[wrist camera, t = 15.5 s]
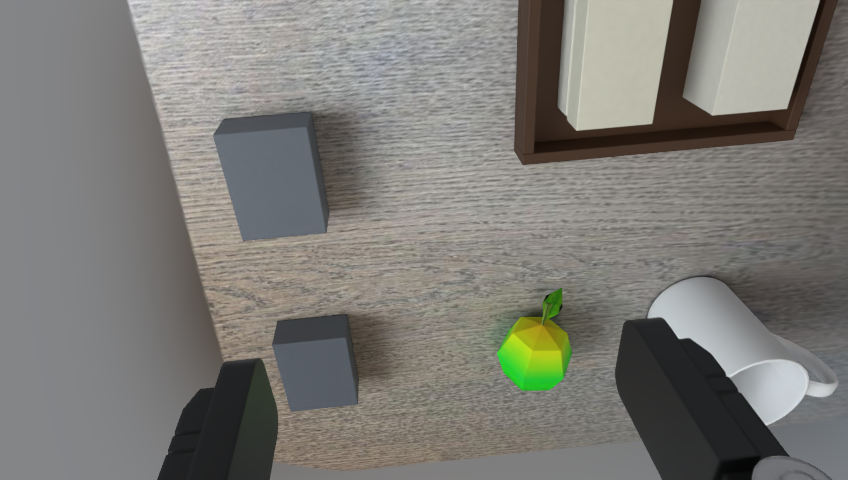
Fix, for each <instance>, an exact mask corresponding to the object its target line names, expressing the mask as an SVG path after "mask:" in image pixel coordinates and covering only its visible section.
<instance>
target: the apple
mask: <svg viewBox="0 0 848 480" xmlns="http://www.w3.org/2000/svg"><path fill="white" fill-rule="evenodd" d="M561 309H562V288H560V289H559V290H557V291H555V292H553V293H551V294H549V295H547V296H546V297H545V299H544V301H543V317H520V318H519V320H518V321H517V322H516V323H515V324H514V325H513V326H512V327H511V329H510V330H509V331H508V333H507V335H506V337H505V339H504V341H503V343H502V345H501V347H500V349H499V351H498V353H497V355H498V358H499V360H500V363H501V366H502V369H503V372H504V373H505V374H506V375H507V376H508V377H509V378H510V379H511V380H512V381H513V382H514V383H515V384H516V385H517V386H518V387H519V388H520V389H521V390H522V391H533V390H550V389H551V388H552V387H554V386H555V385H556V384H557V383H559V382H560V381H561V380H562V379H563V378H564V375H565V372H566V369H567V367H568V364H569V361H570V358H571V355H572V351H571V347H570V343H569V339H568V335H567V333H566V332H565V331H564V330H563V329H561V328H560V327H559V326H558V325H556V324H555V323H554V322H553V321H551V320H550V319H549V318H551V317H553V316H555V315H557V314H558V313H559V312H560V310H561Z"/></svg>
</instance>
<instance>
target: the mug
mask: <svg viewBox="0 0 848 480" xmlns="http://www.w3.org/2000/svg"><path fill="white" fill-rule="evenodd" d="M656 317H661V318H663V319H664V320H666V322H667V323H668V324H669V326H670V327H671V329H672V330H673V331H674V333H675V334H676V336H677V337H678V338H679V339H684V338H690V339H692V340H693V341H694V342H696V343H697V344H699V345H700V346H701V347H703V348H704V349H706V350H707V351H708V352H710V353H711V354H712V355H713V357H714V358H715V359H716V361H717V362H718V363H719V364H720V366H721V367H722V368H723V370H724V371H725V372H726V376H727V377H729V378H730V379H731V380H732V382H733V383H734V384H735V386H736V387H737V388H738V392H739V393H742V395H743V396H744V397H745V399H746V400H747V401H748V403H749V404H750V405H751V407H752V408H753V409H754V411H755V412H756V413H757V414H758V416H759V417H760V418H761V420H762V421H763V422H764V424H765V425H769V424H771V423H774V422H775V421H777V420H779V419H780V418H782V417H784V416H785V415H787V414H788V413H789V412H790V411H792V410H793V409H794V408H795V407H796V406H797V405H798V404H799V402H800V401H801V400H802V399H803V397H804V395H805V394H806V395H810V396H815V397H826V396H829V395H831V394H832V393H833V392H834V390H835V389H836V387H837V385H838V380H837V376H836V375H835V374H834V372H833V371H832V370H831V369H830V368H829V367H828V366H827V365H826V364H825V363H824V362H822V361H821V360H820V359H819V358H818V357H816V356H815V355H813V354H812V353H810V352H809V351H807V350H806V349H804V348H803V347H801V346H799V345H797V344H795V343H793V342H791V341H789V340H787V339H785V338H782V337H780V336H778V335H775V334H773V333H771V332H770V331H769V330H768V329H767V328H766V327H765V326H764V325H763V324H762V323H761V322H760V320H759V319H758V318H757V317H756V316H755V315H754V314H753V313H752V312H751V311H750V310H749V309H748V308H747V307H746V306H745V304H744V303H743V302H742V301H741V300H740V299H739V298H738V297H737V296H736V295H735V294H734V293H733V292H732V291H731V290H730V288H729V287H728V286H727V285H726V284H725V283H723V282H721V281H719V280H717V279H714V278H709V277H693V278H690V279H686V280H682V281H680V282H678V283H676V284H674V285H672V286H670V287H669V288H668V289H666V290H665V291H663V292H662V293H661V294H660V295H659V296H658V297H657V298H656V300H655V301H654V302H653V304H652V306H651V307H650V309H649V313H648V317H647V318H656ZM800 363H801V364H802V365H804V366H805V367H807V368H808V369H809V370H810V371H812V372H813V373H814V374H815V375H816V376H817V377H818V378H819V379H820V380H821V381H822V382H823V383H818V382H813V381H810V380H809V376H808V373H807V371H806V370H805V369H804V367H803V366H802V365H801V364H800Z"/></svg>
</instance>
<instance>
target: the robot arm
mask: <svg viewBox="0 0 848 480" xmlns="http://www.w3.org/2000/svg"><path fill="white" fill-rule="evenodd" d="M615 378H616V385H617V389H618V392H619V395H620V397H621V400H622V401H623V403H624V405H625V407H626V409H627V411H628V413H629V415H630V417H631V419H632V421H633V423H634V425H635V427H636V429H637V431H638V433H639V435H640V437H641V439H642V441H643V443H644V445H645V446H646V449H647V451H648V452H649V454H650V456H651V458H652V460H653V462H654V464H655V466H656V468H657V470H658V472H659V474H660V476H661V478H662V480H832V479H831V478H830V477H829V476H827V475H826V474H825V473H824V472H822V471H821V470H819V469H818V468H816V467H815V466H812V465H811V464H809V463H807V462H804V461H802V460H799V459H796V458H792V457H790V456H789V455H788V454H787V453H786V451H785V450H784V449H783V447H782V446H781V445H780V444H779V442H778V441H777V439H776V438H775V437H774V436H773V434H772V433H771V432H770V430H769V429H768V428H767V426H766V425H765V424H764V422H763V421H762V420H761V418H760V417H759V416H758V414H757V413H756V412H755V411H754V409H753V408H752V407H751V405H750V404H749V403H748V401H747V400H746V399H745V397H744V396H743V395H742V393H739V392H738V388H737V387H736V386H735V384H734V383H733V382H732V380H731V379H730V378H729V377H727V376H726V372H725V371H724V370H723V368H722V367H721V366H720V364H719V363H718V362H717V361H716V359H715V358H714V357H713V355H712V354H711V353H710V352H708V351H707V350H706V349H704V348H703V347H701V346H700V345H699V344H697V343H696V342H694V341H693V340H692V339H690V338H684V339H679V338H678V337H677V336H676V334H675V333H674V331H673V330H672V329H671V327H670V326H669V324H668V323H667V322H666V320H664V319H663V318H661V317H656V318H646V319H637V320H628V321H626V322H625V323H624V325H623V329H622V335H621V340H620V346H619V352H618V357H617V363H616V369H615ZM277 433H278V413H277V406H276V403H275V399H274V396H273V393H272V389H271V386H270V383H269V379H268V376H267V373H266V369H265V366H264V363H263V361H262V359H261V358H255V359H245V360H236V361H226V362H224V363H223V365H222V367H221V370H220V373H219V376H218V379H217V383H216V386H215V388H206V389H200V390H199V391H198V392H197V393H196V395H195V396H194V397H193V398H192V399H191V401H190V402H189V403H188V404H187V405H186V407H185V408H184V409H183V411H182V414H181V416H180V419H179V422H178V425H177V427H176V430H175V436H174V437H173V438H172V441H171V444H170V446H169V449H168V455H166V457H165V460H164V463H163V465H162V468H161V471H160V474H159V476H158V479H157V480H270V474H271V469H272V463H273V457H274V451H275V445H276V440H277Z"/></svg>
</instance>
